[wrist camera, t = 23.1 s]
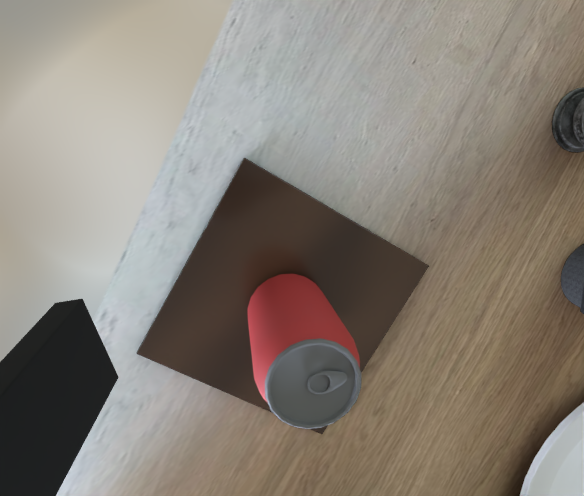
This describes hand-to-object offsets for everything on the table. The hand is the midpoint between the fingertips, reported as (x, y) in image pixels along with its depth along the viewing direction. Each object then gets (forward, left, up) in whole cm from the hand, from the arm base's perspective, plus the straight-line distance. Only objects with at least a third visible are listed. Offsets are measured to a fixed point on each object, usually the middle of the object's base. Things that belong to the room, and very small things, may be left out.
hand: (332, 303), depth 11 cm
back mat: (+6, -7, -23) cm, 25 cm away
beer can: (+6, -7, -23) cm, 25 cm away
